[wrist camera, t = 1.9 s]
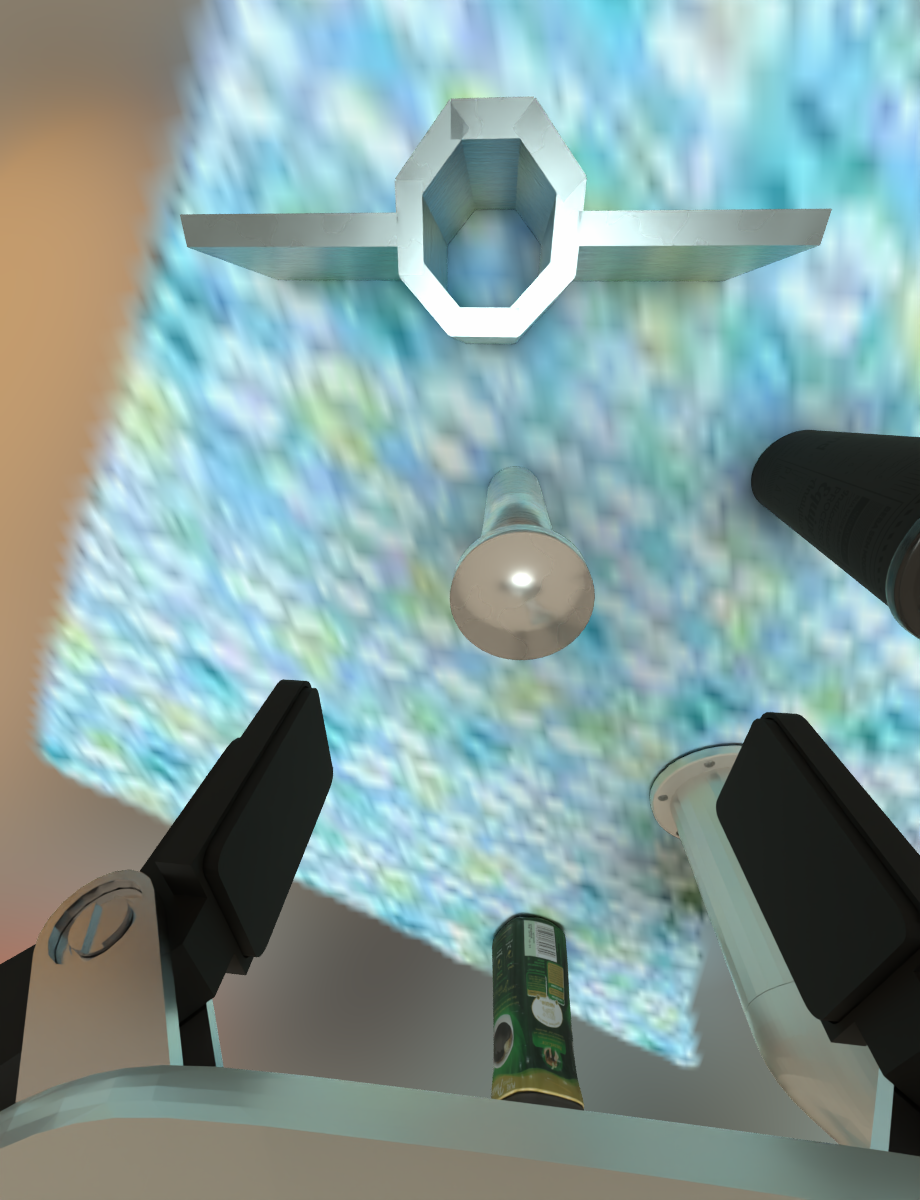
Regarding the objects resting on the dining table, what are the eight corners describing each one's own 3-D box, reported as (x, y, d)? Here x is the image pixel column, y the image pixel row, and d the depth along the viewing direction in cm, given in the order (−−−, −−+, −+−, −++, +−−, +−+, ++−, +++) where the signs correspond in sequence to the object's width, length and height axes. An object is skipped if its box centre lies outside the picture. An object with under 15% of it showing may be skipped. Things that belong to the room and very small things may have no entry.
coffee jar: (539, 957, 58) (552, 1187, 42) (484, 940, 57) (476, 1168, 41) (575, 925, 54) (606, 1170, 37) (517, 906, 53) (522, 1148, 36)
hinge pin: (558, 454, 28) (606, 537, 14) (548, 532, 30) (582, 664, 17) (476, 451, 28) (449, 530, 15) (473, 529, 30) (449, 655, 17)
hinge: (748, 179, 21) (871, 86, 14) (707, 346, 24) (789, 340, 17) (264, 186, 23) (155, 107, 16) (287, 341, 26) (206, 333, 19)
